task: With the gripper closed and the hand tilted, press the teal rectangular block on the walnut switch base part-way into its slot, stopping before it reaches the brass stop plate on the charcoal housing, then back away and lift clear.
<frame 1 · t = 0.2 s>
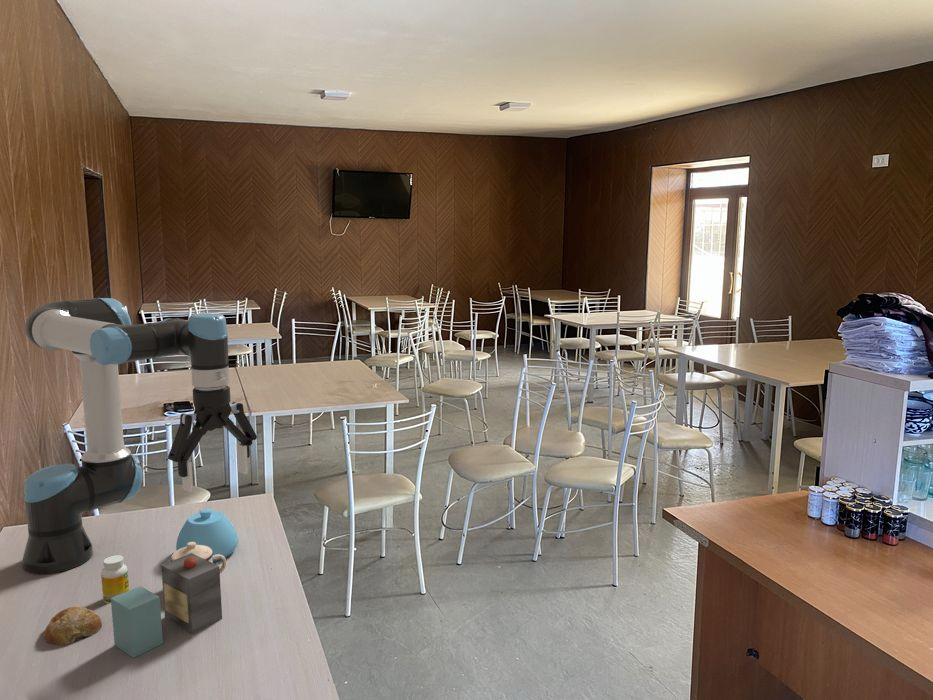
hand: (216, 481, 154), 28 cm above the table, tool pointing down, fingers open, 13 cm apart
supplement bottle: (116, 599, 158), on the table
teacup with lid: (200, 589, 163), on the table
bread roll: (72, 638, 144), on the table
switch base: (160, 640, 143), on the table
teal rectangular block: (137, 621, 138), point 6 cm above the table, slide at 0.0 cm
sugar bowl: (208, 553, 181), on the table
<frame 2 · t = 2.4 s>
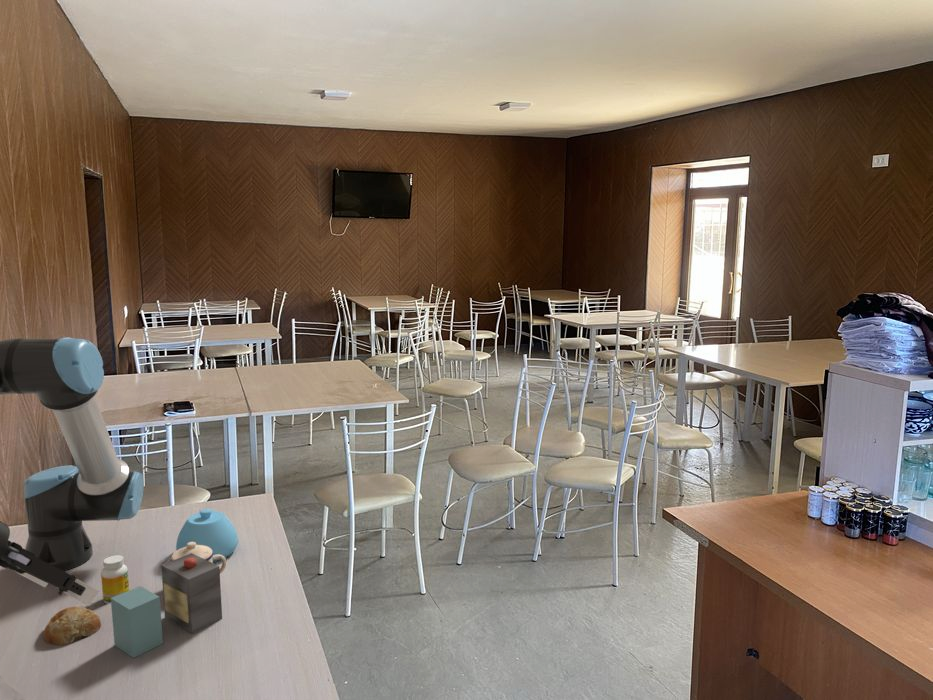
hand: (70, 589, 126), 19 cm above the table, tool tilted 40°, fingers open, 13 cm apart
nothing on the table moved.
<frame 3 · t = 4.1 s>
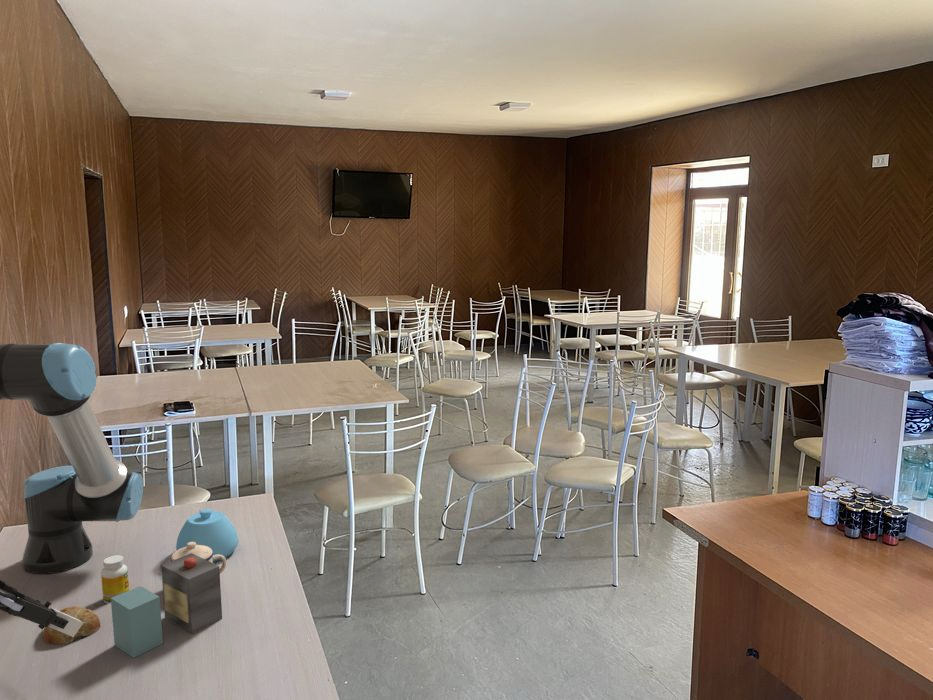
hand: (76, 628, 128), 11 cm above the table, tool tilted 45°, fingers closed
nothing on the table moved.
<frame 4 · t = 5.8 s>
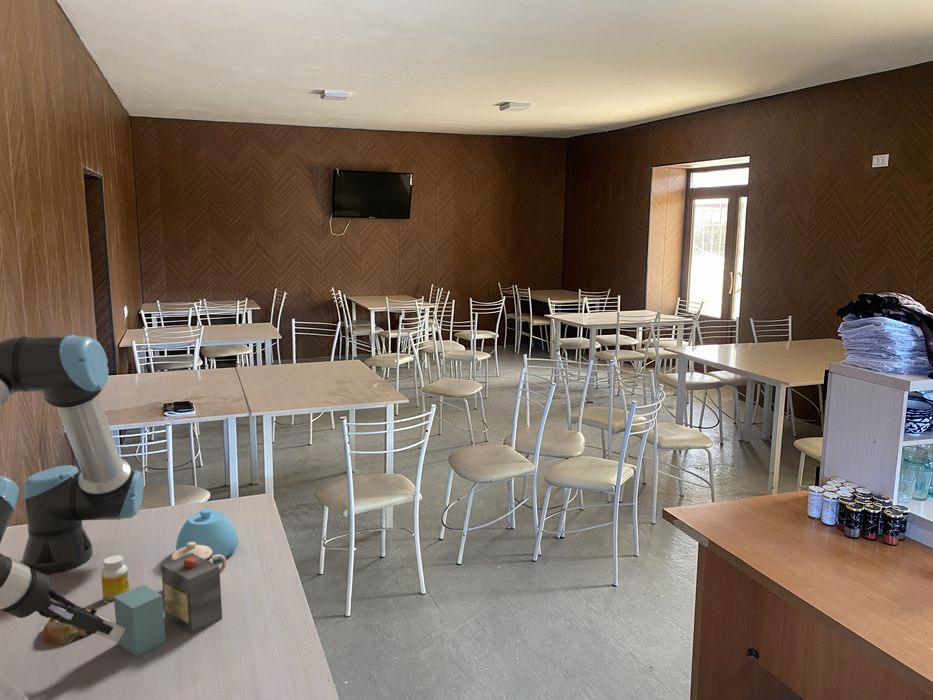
hand: (119, 634, 135), 5 cm above the table, tool tilted 45°, fingers closed
teal rectangular block: (139, 619, 138), point 6 cm above the table, slide at 0.6 cm, touching gripper
everything else where it was.
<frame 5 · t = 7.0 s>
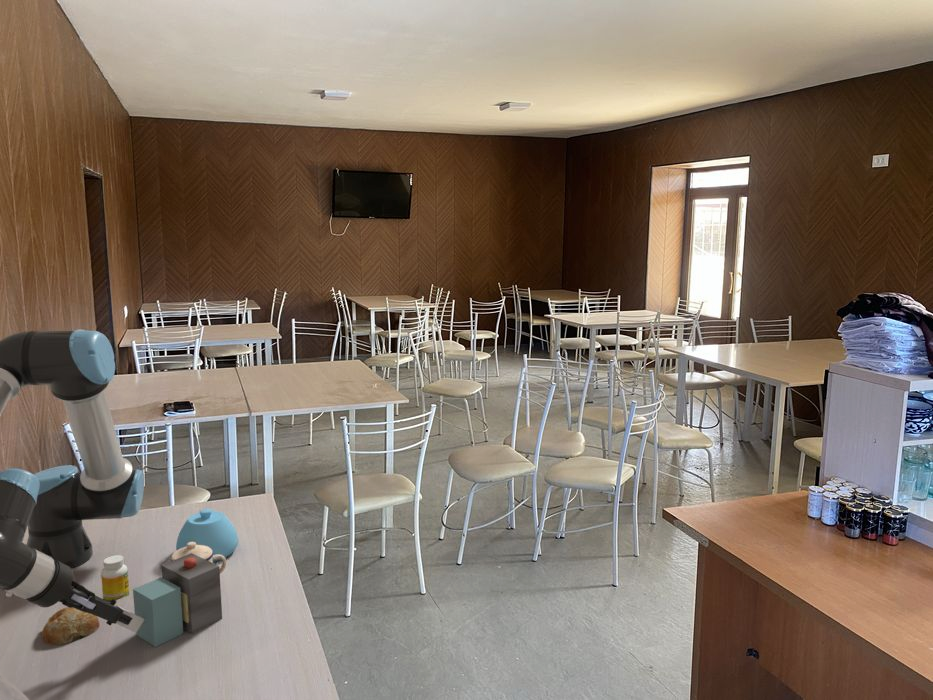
hand: (138, 624, 138), 6 cm above the table, tool tilted 45°, fingers closed
teal rectangular block: (158, 611, 141), point 6 cm above the table, slide at 4.4 cm, touching gripper
everything else where it was.
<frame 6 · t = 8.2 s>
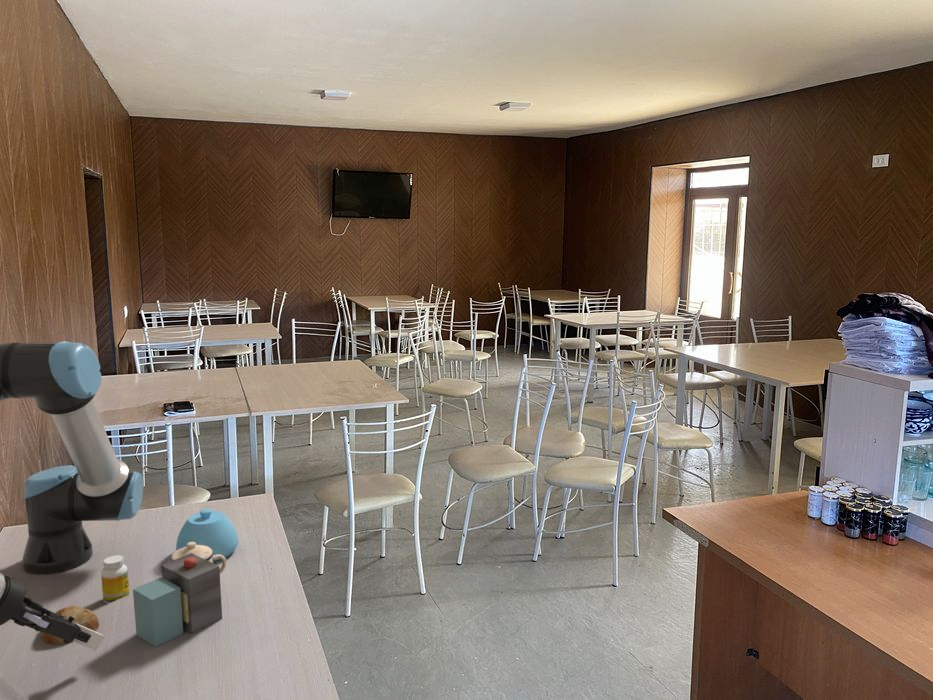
hand: (98, 642, 132), 6 cm above the table, tool tilted 45°, fingers closed
teal rectangular block: (158, 611, 141), point 6 cm above the table, slide at 4.4 cm
everything else where it was.
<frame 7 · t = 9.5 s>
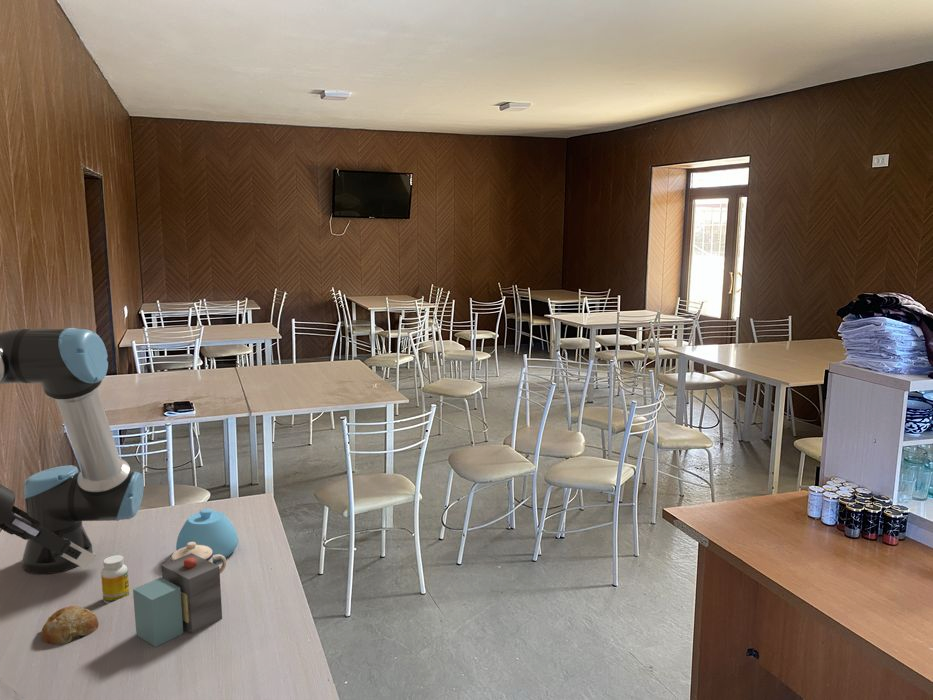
hand: (88, 561, 129), 22 cm above the table, tool tilted 45°, fingers closed
nothing on the table moved.
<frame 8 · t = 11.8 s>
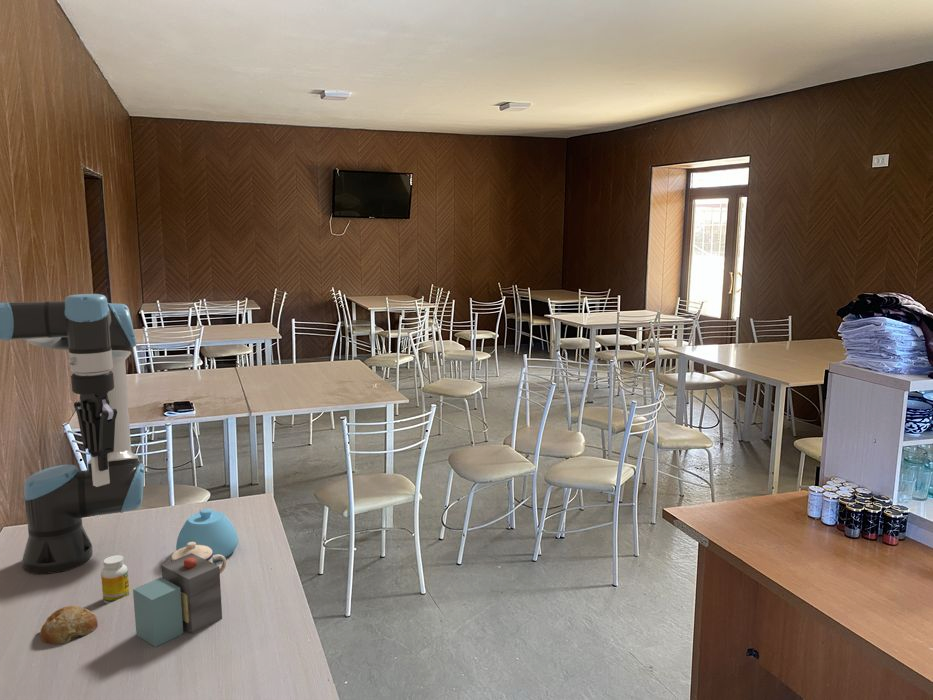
hand: (101, 484, 145), 30 cm above the table, tool pointing down, fingers closed
at the end: teal rectangular block slide at 4.4 cm; bread roll moved 1.2 cm from its start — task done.
